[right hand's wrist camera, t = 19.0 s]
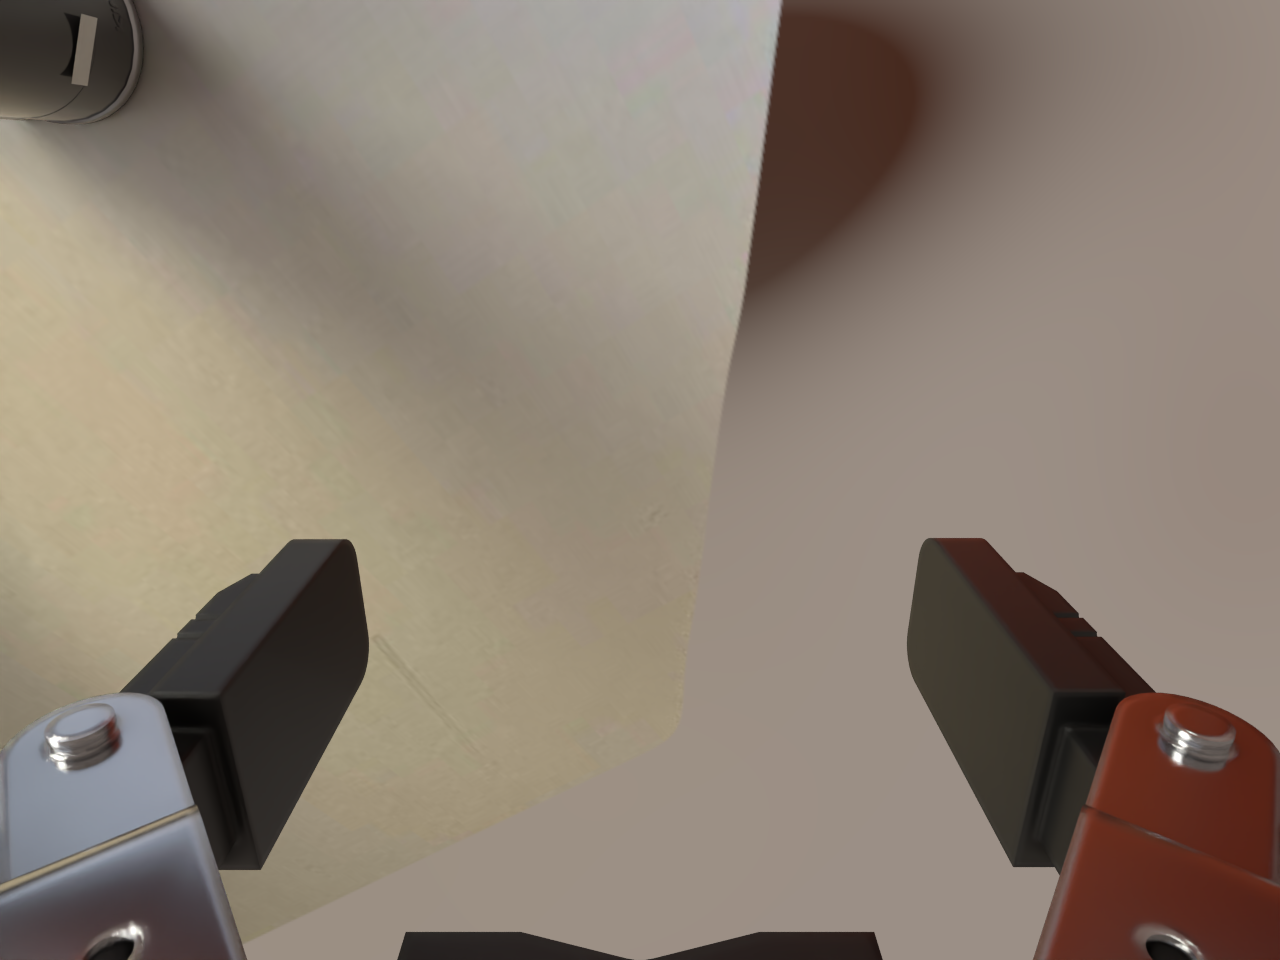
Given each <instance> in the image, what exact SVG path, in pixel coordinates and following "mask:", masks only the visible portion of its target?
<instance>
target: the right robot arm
mask: <svg viewBox="0 0 1280 960" xmlns="http://www.w3.org/2000/svg"><path fill="white" fill-rule="evenodd" d="M142 62H143V37H142V31H141V26H140V21H139V18H138V14H137V11H136V8H135V6H134V4H133V1H132V0H0V119H6V120H20V121H22V120H26V119H36V120H45V121H49V122H54V123H62V124H86V123H92V122H95V121H99V120H101V119H104V118H106V117H108V116H110V115H111V114H113V113H114V112H116V111H117V110H118V109H120V108H121V107H122V106H123V105H124V104H125V102H126V101H127V100H128V99H129V97H130V96H131V94H132V93H133V91H134V89H135V87H136V85H137V82H138V79H139V76H140V73H141V68H142ZM177 635H178V636H177V639H172V640H171V641H170V642H169V643H168V644H167V645H166V646H165V647H164V648H163V649H162V650H161V651H160V652H159V653H158V654H157V655H156V656H155V657H154V658H153V659H152V660H151V661H150V662H149V663H148V664H147V665H146V666H145V667H144V668H143V669H142V670H141V671H140V672H139V673H138V674H137V675H136V676H135V677H134V678H133V679H132V680H131V681H130V682H129V683H128V684H127V685H126V686H125V687H124V688H123V689H122V690H121V691H120V692H119V693H113V694H105V695H100V696H95V697H91V698H87V699H84V700H80V701H77V702H74V703H71V704H69V705H66V706H63V707H61V708H59V709H57V710H54V711H52V712H50V713H48V714H46V715H44V716H42V717H41V718H39V719H37V720H35V721H34V722H32V723H31V724H29V725H28V726H26V727H25V728H24V729H22V730H21V731H20V732H18V733H17V734H16V735H15V736H14V737H13V738H12V739H11V740H10V741H9V742H8V743H7V744H6V745H5V747H4V748H3V749H2V751H1V753H0V960H247V958H246V955H245V952H244V949H243V945H242V942H241V939H240V936H239V933H238V930H237V927H236V924H235V920H234V917H233V914H232V911H231V908H230V905H229V902H228V899H227V895H226V892H225V889H224V886H223V883H222V880H221V877H220V874H219V870H261V868H262V866H263V865H264V863H265V861H266V859H267V857H268V855H269V853H270V852H271V850H272V848H273V846H274V844H275V842H276V840H277V839H278V837H279V835H280V833H281V831H282V829H283V827H284V826H285V824H286V822H287V820H288V818H289V816H290V814H291V813H292V811H293V809H294V807H295V805H296V803H297V801H298V800H299V798H300V796H301V794H302V792H303V790H304V788H305V786H306V785H307V783H308V781H309V779H310V777H311V775H312V773H313V772H314V770H315V768H316V766H317V764H318V762H319V760H320V759H321V757H322V755H323V753H324V751H325V749H326V747H327V746H328V744H329V742H330V740H331V738H332V736H333V734H334V733H335V731H336V729H337V727H338V725H339V723H340V721H341V720H342V718H343V716H344V714H345V712H346V710H347V708H348V707H349V705H350V703H351V701H352V699H353V697H354V695H355V694H356V692H357V690H358V688H359V686H360V684H361V682H362V680H363V678H364V675H365V672H366V668H367V662H368V654H369V637H368V630H367V623H366V616H365V609H364V603H363V596H362V589H361V582H360V576H359V569H358V562H357V556H356V552H355V549H354V547H353V545H352V543H351V542H350V541H349V540H347V539H293V540H291V541H290V542H288V543H287V544H286V545H285V547H284V548H283V549H282V550H281V551H280V552H279V553H278V554H277V555H276V556H275V557H274V558H273V559H272V560H271V562H270V563H269V564H268V565H267V566H266V567H265V568H264V569H263V570H262V571H261V572H260V573H259V574H250V575H249V576H247V577H245V578H243V579H241V580H240V581H238V582H236V583H234V584H232V585H231V586H229V587H227V588H225V589H224V590H222V591H220V592H218V593H217V594H216V595H215V596H214V597H213V598H212V599H211V600H210V601H209V602H208V603H207V604H206V605H205V606H204V607H203V608H202V609H201V610H200V611H199V612H198V613H197V614H196V619H195V620H190V621H189V622H188V623H187V624H186V625H185V626H184V628H183V629H182V630H181V631H180V632H179V633H178V634H177ZM907 653H908V661H909V666H910V670H911V674H912V677H913V679H914V681H915V683H916V685H917V687H918V689H919V691H920V693H921V694H922V696H923V698H924V700H925V702H926V704H927V706H928V707H929V709H930V711H931V713H932V715H933V717H934V719H935V721H936V722H937V725H938V726H939V728H940V730H941V732H942V734H943V736H944V738H945V739H946V741H947V743H948V745H949V747H950V749H951V751H952V753H953V755H954V756H955V758H956V760H957V762H958V764H959V766H960V768H961V770H962V772H963V773H964V775H965V777H966V779H967V781H968V783H969V785H970V787H971V788H972V790H973V792H974V794H975V796H976V798H977V800H978V802H979V804H980V805H981V807H982V809H983V811H984V813H985V815H986V817H987V819H988V820H989V822H990V824H991V826H992V828H993V830H994V832H995V834H996V836H997V837H998V839H999V841H1000V843H1001V845H1002V847H1003V849H1004V851H1005V852H1006V854H1007V856H1008V858H1009V860H1010V862H1011V864H1012V866H1013V867H1055V868H1056V870H1057V872H1058V873H1059V875H1060V877H1059V880H1058V883H1057V886H1056V889H1055V892H1054V896H1053V899H1052V902H1051V905H1050V908H1049V911H1048V914H1047V917H1046V920H1045V924H1044V927H1043V930H1042V933H1041V936H1040V939H1039V942H1038V946H1037V949H1036V952H1035V955H1034V958H1033V960H1280V753H1279V751H1278V749H1277V748H1276V747H1275V745H1274V744H1273V743H1272V742H1271V741H1270V740H1269V739H1268V738H1267V737H1266V736H1265V735H1264V734H1263V733H1262V732H1260V731H1259V730H1258V729H1256V728H1255V727H1254V726H1252V725H1251V724H1249V723H1248V722H1246V721H1244V720H1243V719H1241V718H1239V717H1238V716H1236V715H1234V714H1232V713H1230V712H1228V711H1226V710H1223V709H1221V708H1219V707H1217V706H1214V705H1211V704H1209V703H1206V702H1203V701H1200V700H1196V699H1193V698H1189V697H1185V696H1180V695H1175V694H1167V693H1156V692H1155V691H1154V690H1153V689H1152V688H1151V687H1150V686H1149V685H1148V684H1147V683H1146V682H1145V681H1144V680H1143V679H1142V678H1141V677H1140V676H1139V675H1138V674H1137V673H1136V672H1135V671H1134V670H1133V669H1132V668H1131V667H1130V665H1129V664H1128V663H1127V662H1126V661H1125V660H1124V659H1123V658H1122V657H1121V656H1120V655H1119V654H1118V653H1117V652H1116V651H1115V650H1114V649H1113V648H1112V647H1111V646H1110V645H1109V644H1108V643H1107V642H1106V641H1105V640H1104V639H1103V638H1102V637H1097V632H1096V631H1095V630H1094V629H1093V628H1092V627H1091V626H1090V625H1089V624H1088V622H1086V620H1085V619H1084V618H1079V614H1078V612H1077V611H1076V610H1075V609H1074V608H1073V607H1072V606H1071V605H1070V604H1069V603H1068V602H1067V601H1066V600H1065V599H1064V598H1063V597H1062V596H1061V595H1060V594H1059V593H1058V592H1057V591H1056V590H1054V589H1052V588H1050V587H1048V586H1047V585H1045V584H1043V583H1041V582H1040V581H1038V580H1036V579H1034V578H1032V577H1031V576H1029V575H1027V574H1025V573H1024V572H1015V571H1014V570H1013V569H1012V568H1011V567H1010V566H1009V565H1008V564H1007V563H1006V561H1005V560H1004V559H1003V558H1002V557H1001V556H1000V555H999V554H998V553H997V552H996V551H995V549H994V548H993V547H992V546H991V545H990V544H989V543H988V542H987V541H986V540H985V539H982V538H928V539H926V540H925V541H924V543H923V545H922V547H921V550H920V554H919V559H918V566H917V573H916V580H915V586H914V593H913V600H912V607H911V614H910V621H909V628H908V636H907ZM397 960H632V959H626V958H622V957H618V956H614V955H610V954H606V953H602V952H598V951H594V950H590V949H586V948H582V947H578V946H574V945H570V944H566V943H562V942H558V941H554V940H550V939H546V938H542V937H538V936H534V935H530V934H526V933H522V932H406V933H405V937H404V940H403V943H402V946H401V950H400V953H399V956H398V959H397ZM648 960H883V959H882V956H881V953H880V950H879V946H878V943H877V940H876V937H875V933H874V932H758V933H754V934H750V935H746V936H742V937H738V938H734V939H730V940H726V941H722V942H718V943H714V944H710V945H706V946H702V947H698V948H694V949H690V950H686V951H682V952H678V953H674V954H670V955H666V956H662V957H658V958H654V959H648Z"/></svg>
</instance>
